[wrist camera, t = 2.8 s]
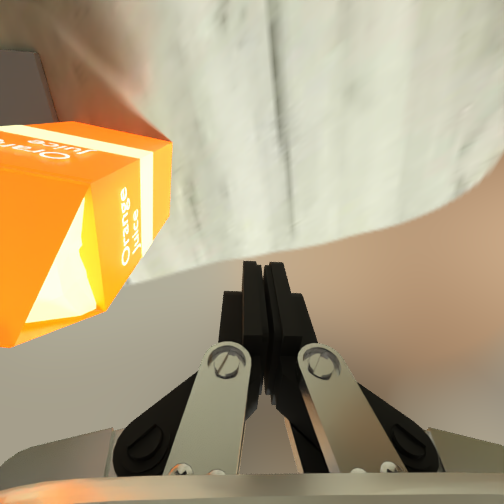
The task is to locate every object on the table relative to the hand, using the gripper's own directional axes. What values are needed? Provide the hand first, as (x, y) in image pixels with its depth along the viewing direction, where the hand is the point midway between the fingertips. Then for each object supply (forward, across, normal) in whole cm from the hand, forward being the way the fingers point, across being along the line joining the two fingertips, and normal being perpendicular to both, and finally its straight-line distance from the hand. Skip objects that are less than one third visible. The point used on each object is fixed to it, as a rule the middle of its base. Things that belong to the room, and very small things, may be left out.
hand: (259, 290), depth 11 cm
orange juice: (+17, +12, -1) cm, 21 cm away
